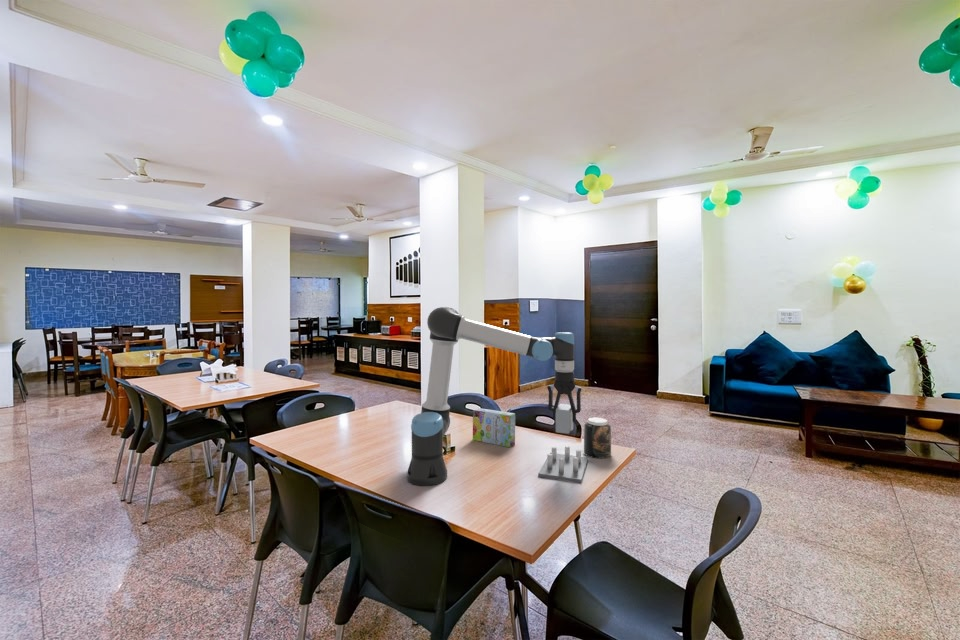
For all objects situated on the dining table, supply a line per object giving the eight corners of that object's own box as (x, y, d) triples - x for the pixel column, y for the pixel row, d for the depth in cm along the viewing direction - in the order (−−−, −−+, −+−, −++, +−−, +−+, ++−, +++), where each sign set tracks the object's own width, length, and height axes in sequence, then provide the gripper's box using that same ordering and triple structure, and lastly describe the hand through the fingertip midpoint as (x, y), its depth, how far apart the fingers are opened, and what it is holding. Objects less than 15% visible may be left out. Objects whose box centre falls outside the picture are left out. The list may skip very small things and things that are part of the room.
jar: (578, 453, 177) (578, 420, 177) (591, 447, 185) (591, 415, 185) (603, 460, 169) (604, 425, 169) (615, 453, 177) (616, 419, 177)
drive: (555, 432, 156) (555, 409, 156) (560, 425, 166) (560, 403, 166) (568, 433, 155) (569, 410, 154) (572, 426, 164) (572, 404, 164)
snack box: (515, 444, 189) (515, 412, 189) (510, 448, 184) (510, 415, 184) (478, 437, 200) (478, 407, 200) (471, 440, 196) (471, 409, 195)
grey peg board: (538, 476, 152) (538, 460, 152) (550, 455, 175) (550, 441, 175) (581, 482, 147) (581, 466, 146) (588, 460, 169) (588, 445, 169)
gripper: (540, 371, 160) (540, 428, 160) (586, 373, 153) (586, 433, 153) (544, 368, 167) (543, 424, 167) (588, 370, 160) (588, 428, 160)
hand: (564, 428), depth 160 cm, fingers closed on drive, 5 cm apart
